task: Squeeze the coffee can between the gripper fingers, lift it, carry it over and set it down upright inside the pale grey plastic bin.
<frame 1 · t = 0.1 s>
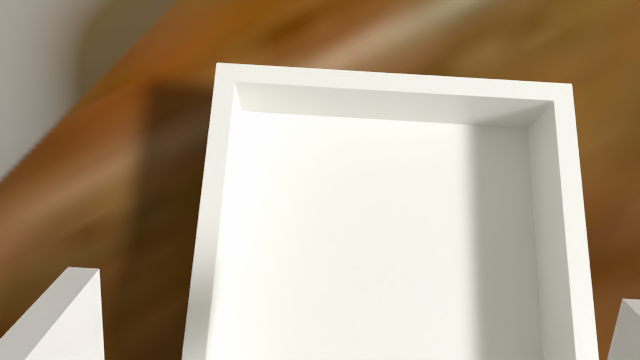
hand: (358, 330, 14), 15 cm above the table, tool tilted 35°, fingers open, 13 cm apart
bin: (380, 265, 30), on the table
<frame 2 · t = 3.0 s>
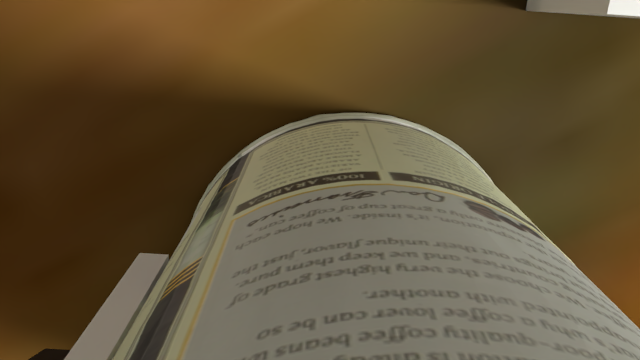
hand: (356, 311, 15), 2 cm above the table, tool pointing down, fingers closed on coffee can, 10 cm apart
coffee can: (351, 269, 18), on the table, touching gripper
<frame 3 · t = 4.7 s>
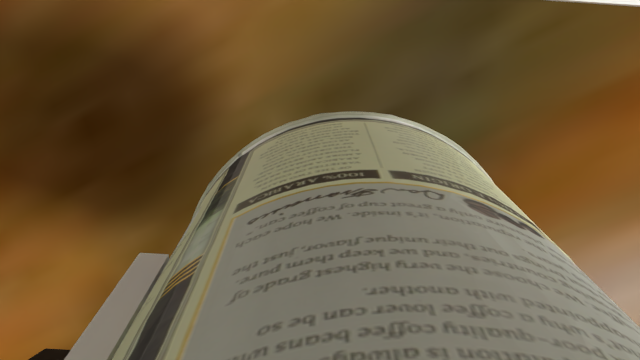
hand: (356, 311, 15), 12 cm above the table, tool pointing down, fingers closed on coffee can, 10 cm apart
coffee can: (351, 268, 18), point 10 cm above the table, touching gripper
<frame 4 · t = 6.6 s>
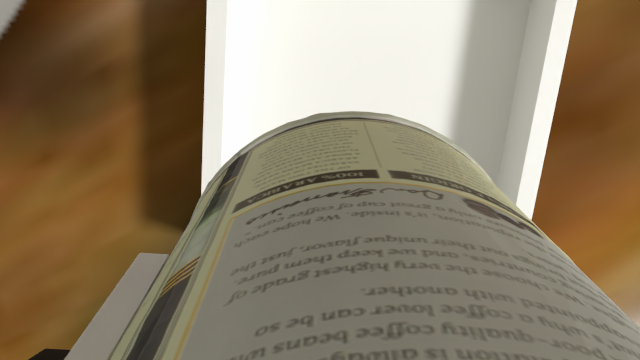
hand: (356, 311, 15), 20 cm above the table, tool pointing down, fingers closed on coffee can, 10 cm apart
coffee can: (351, 268, 18), point 17 cm above the table, touching gripper
bin: (369, 112, 34), on the table
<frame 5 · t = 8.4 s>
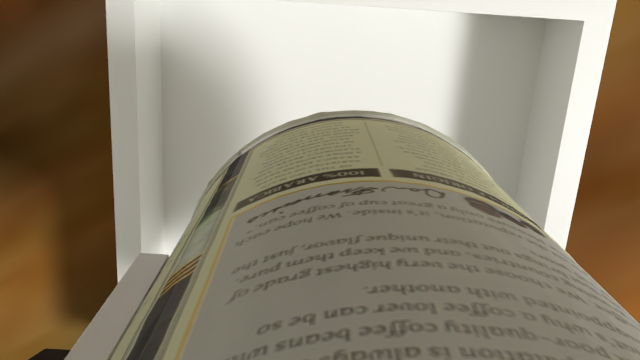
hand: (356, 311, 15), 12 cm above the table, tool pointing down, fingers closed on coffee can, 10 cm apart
coffee can: (351, 268, 18), point 9 cm above the table, touching gripper
bin: (339, 183, 27), on the table
when the fingers open (6 cm above the table, at t = 10.1 s): coffee can drops 2 cm, resting on bin.
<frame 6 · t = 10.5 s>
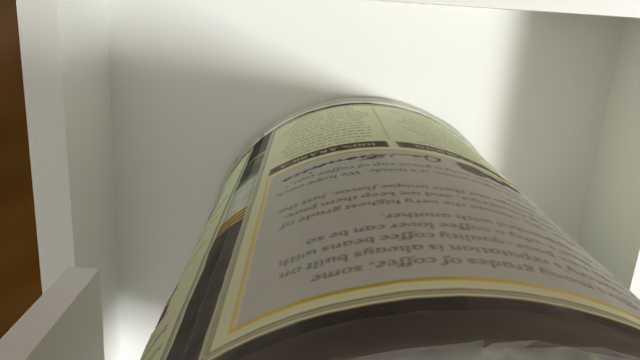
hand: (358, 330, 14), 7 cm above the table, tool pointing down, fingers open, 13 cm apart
coffee can: (359, 238, 20), point 1 cm above the table, touching bin
bin: (346, 229, 21), on the table
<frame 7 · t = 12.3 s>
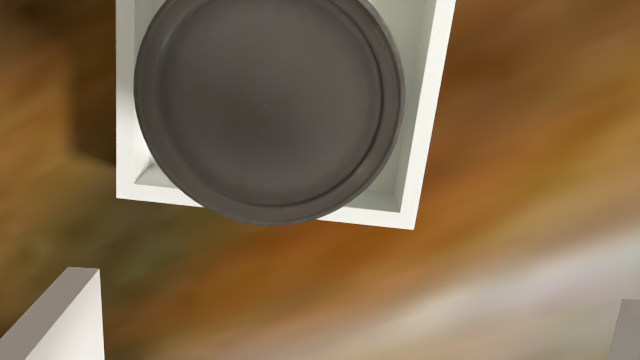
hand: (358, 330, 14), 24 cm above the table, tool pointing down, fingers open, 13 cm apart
coffee can: (291, 56, 35), point 1 cm above the table, touching bin
bin: (285, 54, 36), on the table
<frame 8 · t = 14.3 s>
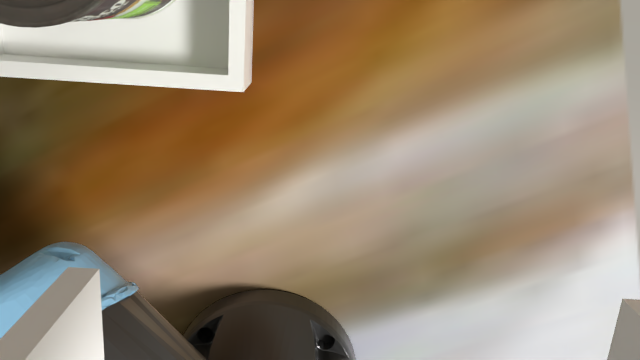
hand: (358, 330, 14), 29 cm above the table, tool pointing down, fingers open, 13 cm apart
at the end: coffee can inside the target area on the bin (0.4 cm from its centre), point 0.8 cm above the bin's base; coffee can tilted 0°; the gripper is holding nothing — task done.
